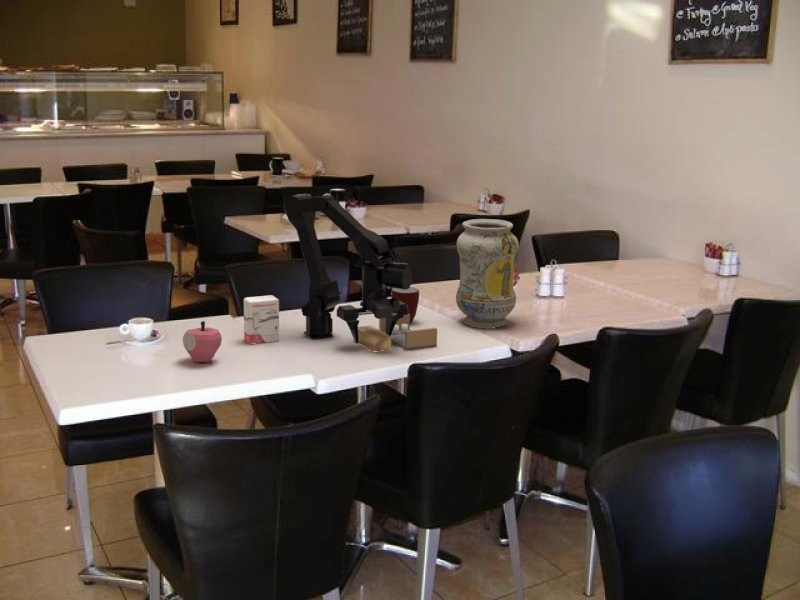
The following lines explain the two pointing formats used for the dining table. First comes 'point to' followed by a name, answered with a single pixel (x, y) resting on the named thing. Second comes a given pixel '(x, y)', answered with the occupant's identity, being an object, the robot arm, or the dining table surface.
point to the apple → (202, 343)
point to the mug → (408, 299)
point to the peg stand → (410, 334)
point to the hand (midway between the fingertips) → (372, 341)
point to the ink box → (261, 319)
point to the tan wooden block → (373, 338)
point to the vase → (486, 272)
